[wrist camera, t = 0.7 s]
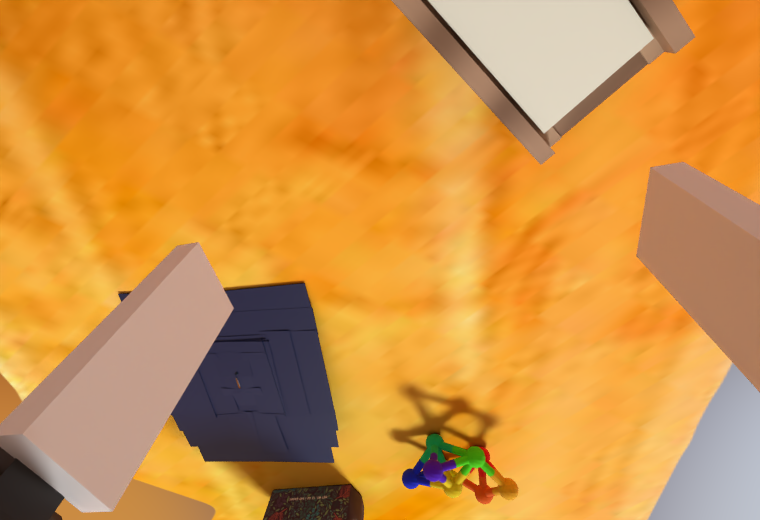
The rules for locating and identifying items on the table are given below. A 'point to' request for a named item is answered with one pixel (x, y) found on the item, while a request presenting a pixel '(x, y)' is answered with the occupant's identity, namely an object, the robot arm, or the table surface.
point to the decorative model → (443, 476)
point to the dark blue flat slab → (262, 384)
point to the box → (652, 9)
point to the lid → (548, 47)
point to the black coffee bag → (315, 504)
